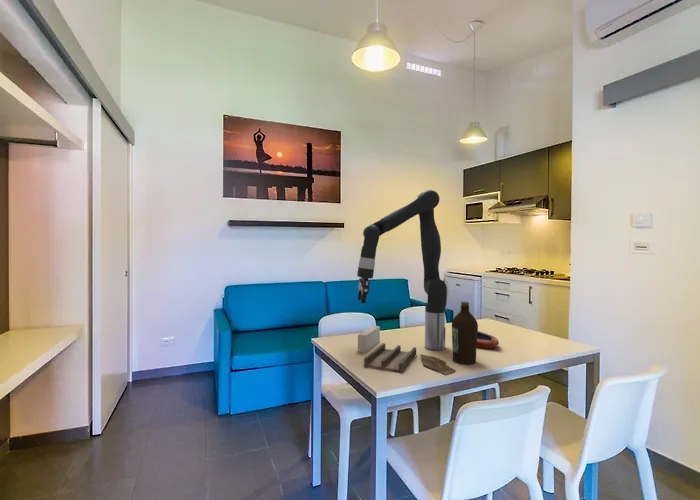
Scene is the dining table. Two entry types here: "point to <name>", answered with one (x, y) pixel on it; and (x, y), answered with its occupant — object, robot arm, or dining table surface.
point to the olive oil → (464, 336)
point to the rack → (389, 359)
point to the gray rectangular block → (368, 338)
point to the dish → (486, 340)
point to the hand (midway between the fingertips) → (361, 301)
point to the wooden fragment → (436, 364)
